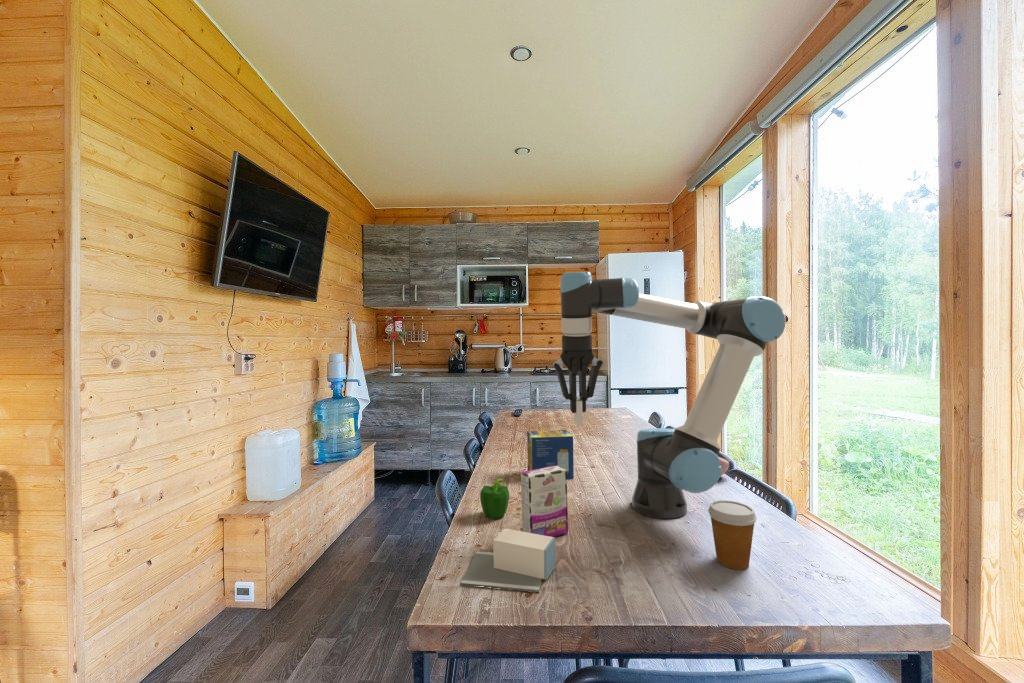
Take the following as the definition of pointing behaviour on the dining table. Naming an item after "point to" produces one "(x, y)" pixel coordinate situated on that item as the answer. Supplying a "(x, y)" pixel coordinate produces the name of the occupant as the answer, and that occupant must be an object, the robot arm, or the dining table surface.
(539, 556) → the cream block
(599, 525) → the dining table surface
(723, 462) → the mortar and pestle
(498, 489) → the bell pepper
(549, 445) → the protein box
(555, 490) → the candy bar box
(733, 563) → the disposable coffee cup
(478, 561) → the gray plastic tray
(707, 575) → the dining table surface
